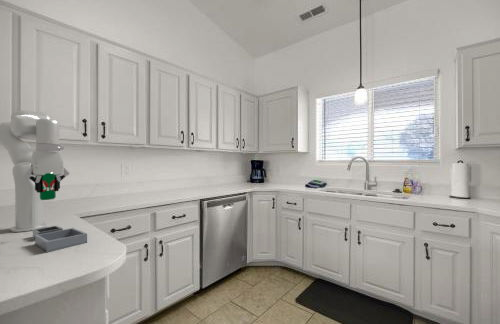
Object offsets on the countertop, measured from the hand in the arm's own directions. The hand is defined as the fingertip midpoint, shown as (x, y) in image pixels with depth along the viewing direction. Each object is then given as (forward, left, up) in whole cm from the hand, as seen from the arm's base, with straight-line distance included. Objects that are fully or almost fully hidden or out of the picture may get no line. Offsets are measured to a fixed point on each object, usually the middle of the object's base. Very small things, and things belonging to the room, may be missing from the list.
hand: (47, 191), depth 97 cm
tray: (+16, 0, -19) cm, 25 cm away
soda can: (0, 0, -4) cm, 4 cm away
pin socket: (0, 0, -19) cm, 19 cm away
